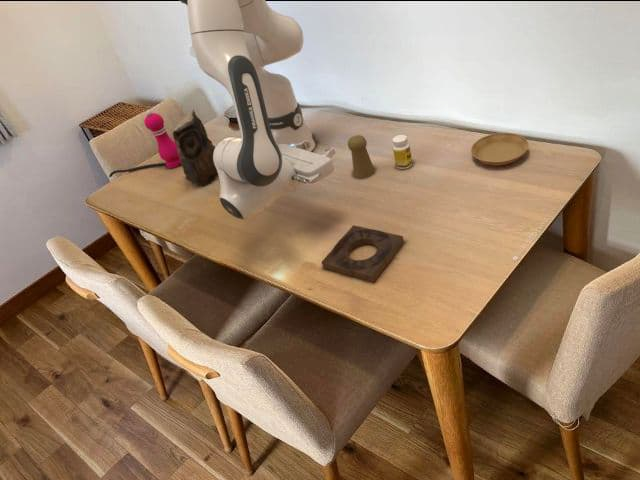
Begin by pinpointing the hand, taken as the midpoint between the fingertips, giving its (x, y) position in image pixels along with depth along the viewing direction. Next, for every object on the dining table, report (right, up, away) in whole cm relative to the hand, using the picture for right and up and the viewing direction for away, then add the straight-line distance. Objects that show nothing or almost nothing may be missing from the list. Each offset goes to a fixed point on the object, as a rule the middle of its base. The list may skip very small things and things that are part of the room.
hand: (320, 146), depth 128 cm
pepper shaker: (+11, -4, +16) cm, 20 cm away
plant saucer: (+48, -1, +7) cm, 48 cm away
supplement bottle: (+23, -2, +14) cm, 27 cm away
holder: (+11, -28, -11) cm, 32 cm away
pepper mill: (-54, +5, +46) cm, 71 cm away
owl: (-41, -1, +36) cm, 54 cm away
